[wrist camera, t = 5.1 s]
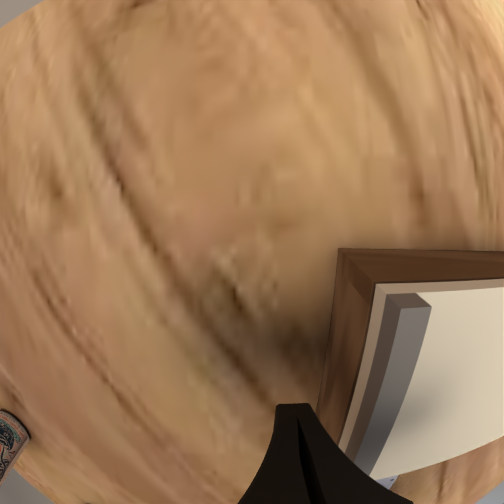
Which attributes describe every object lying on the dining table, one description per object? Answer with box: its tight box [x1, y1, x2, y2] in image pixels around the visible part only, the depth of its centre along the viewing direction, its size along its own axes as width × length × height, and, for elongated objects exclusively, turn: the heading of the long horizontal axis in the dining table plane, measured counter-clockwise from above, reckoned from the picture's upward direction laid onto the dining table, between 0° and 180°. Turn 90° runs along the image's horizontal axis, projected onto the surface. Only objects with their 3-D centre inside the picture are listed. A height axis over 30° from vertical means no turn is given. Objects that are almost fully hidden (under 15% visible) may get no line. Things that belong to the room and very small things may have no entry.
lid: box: [338, 279, 504, 480], centre depth 11 cm, size 12×18×2 cm, turn 89°
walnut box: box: [316, 248, 504, 446], centre depth 15 cm, size 12×18×5 cm, turn 89°
